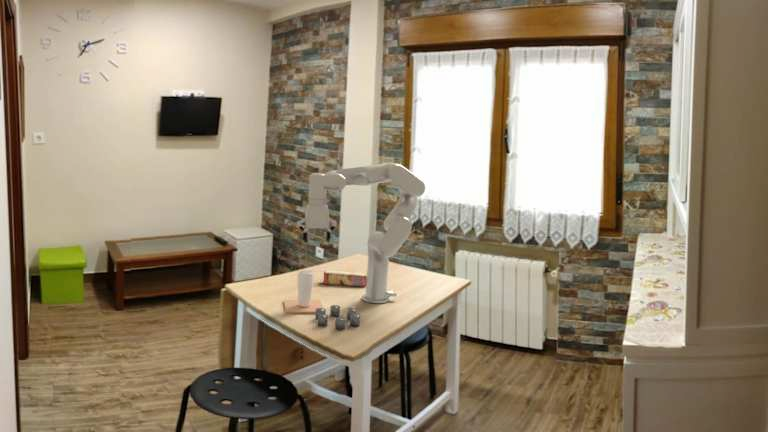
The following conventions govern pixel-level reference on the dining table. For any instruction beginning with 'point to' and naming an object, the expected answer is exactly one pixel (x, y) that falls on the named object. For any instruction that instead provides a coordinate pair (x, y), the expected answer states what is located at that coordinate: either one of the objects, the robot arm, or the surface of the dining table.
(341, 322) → the spacer posts
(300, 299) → the drinking glass
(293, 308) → the terracotta tile
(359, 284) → the snack package
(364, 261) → the dining table surface
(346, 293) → the dining table surface
